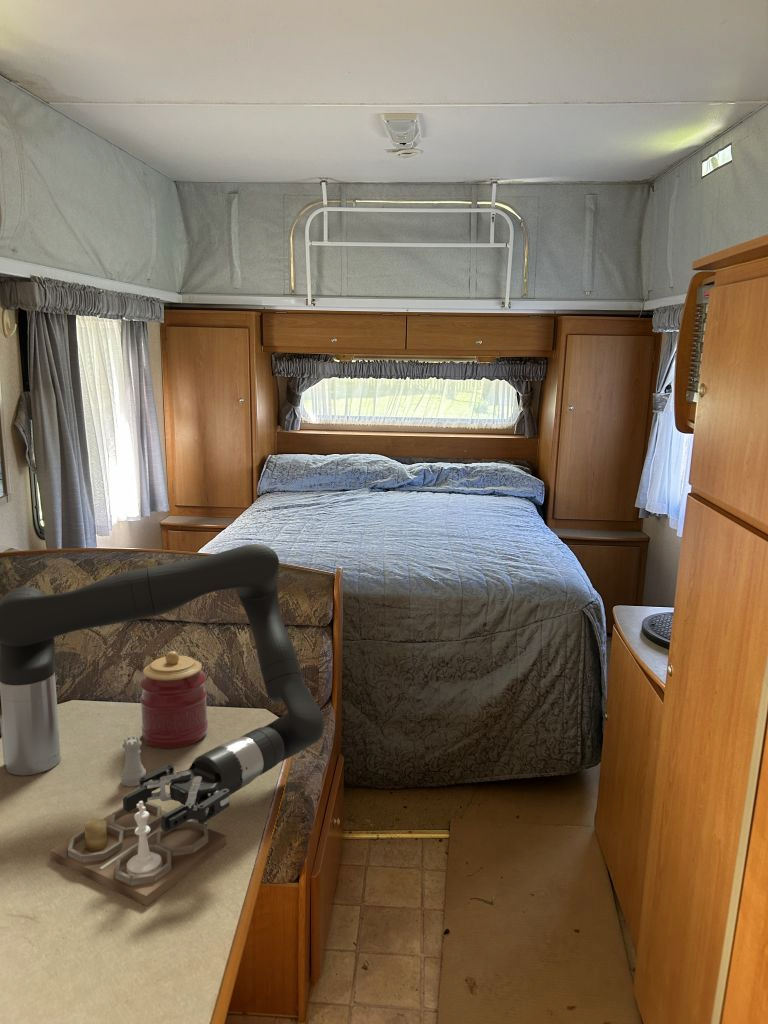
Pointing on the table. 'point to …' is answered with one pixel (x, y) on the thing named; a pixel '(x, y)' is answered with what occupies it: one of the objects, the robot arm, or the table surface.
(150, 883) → the brown octagon slot tray
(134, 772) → the rook chess piece
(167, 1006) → the table surface
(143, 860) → the chess piece
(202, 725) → the canister
